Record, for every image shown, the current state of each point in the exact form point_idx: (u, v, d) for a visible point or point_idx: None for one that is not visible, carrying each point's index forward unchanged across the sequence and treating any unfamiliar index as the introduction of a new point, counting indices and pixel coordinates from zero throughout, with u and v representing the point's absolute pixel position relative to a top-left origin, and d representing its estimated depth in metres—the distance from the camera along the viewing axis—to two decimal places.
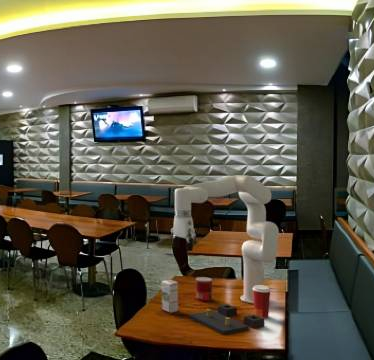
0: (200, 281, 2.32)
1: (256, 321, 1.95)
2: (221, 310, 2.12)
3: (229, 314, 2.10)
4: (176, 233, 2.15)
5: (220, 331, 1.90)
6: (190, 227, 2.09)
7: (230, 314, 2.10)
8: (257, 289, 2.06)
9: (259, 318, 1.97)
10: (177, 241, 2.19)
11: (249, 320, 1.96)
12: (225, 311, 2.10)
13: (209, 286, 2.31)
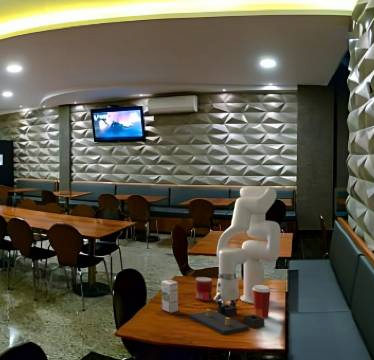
0: (200, 281, 2.32)
1: (256, 321, 1.95)
2: None
3: (229, 314, 2.10)
4: None
5: (220, 331, 1.90)
6: (219, 289, 2.10)
7: (230, 314, 2.10)
8: (257, 289, 2.06)
9: (259, 318, 1.97)
10: None
11: (249, 320, 1.96)
12: (225, 311, 2.10)
13: (209, 286, 2.31)
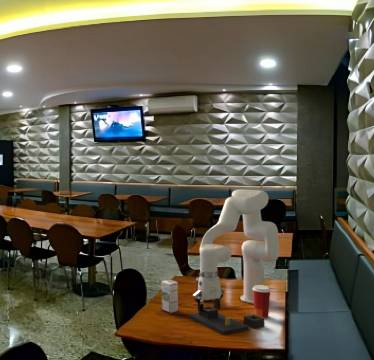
0: None
1: (256, 321, 1.95)
2: None
3: (210, 316, 2.03)
4: None
5: (220, 331, 1.90)
6: (200, 288, 2.04)
7: (211, 316, 2.03)
8: (257, 289, 2.06)
9: (259, 318, 1.97)
10: (216, 302, 2.08)
11: (249, 320, 1.96)
12: (206, 313, 2.03)
13: None
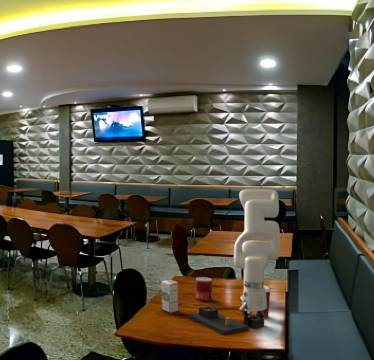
0: (200, 281, 2.32)
1: (256, 321, 1.95)
2: (202, 312, 2.06)
3: (210, 316, 2.03)
4: None
5: (220, 331, 1.90)
6: (246, 299, 1.95)
7: (211, 316, 2.03)
8: None
9: (259, 318, 1.97)
10: None
11: None
12: (206, 313, 2.03)
13: (209, 286, 2.31)
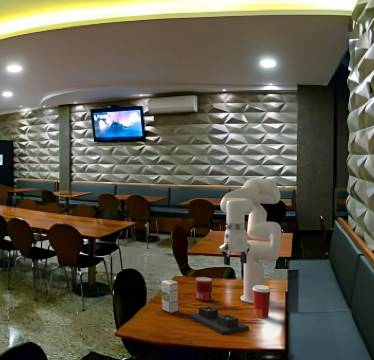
0: (200, 281, 2.32)
1: (229, 321, 1.92)
2: (202, 312, 2.06)
3: (210, 316, 2.03)
4: None
5: (220, 331, 1.90)
6: (227, 240, 2.01)
7: (211, 316, 2.03)
8: (257, 289, 2.06)
9: (233, 317, 1.94)
10: (243, 256, 2.04)
11: (223, 319, 1.94)
12: (206, 313, 2.03)
13: (209, 286, 2.31)
